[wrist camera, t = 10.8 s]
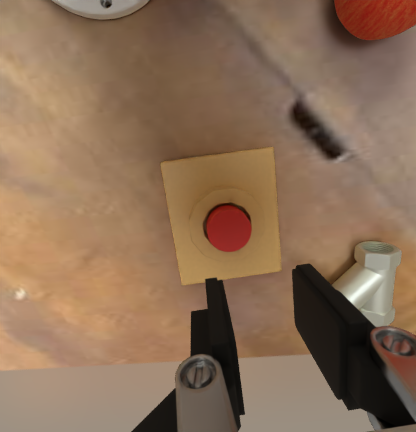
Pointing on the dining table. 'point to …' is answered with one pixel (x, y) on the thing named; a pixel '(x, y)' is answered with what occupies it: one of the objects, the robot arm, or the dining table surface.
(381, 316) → the pipe fitting
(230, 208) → the button
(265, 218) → the button box
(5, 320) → the dining table surface
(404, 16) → the apple
